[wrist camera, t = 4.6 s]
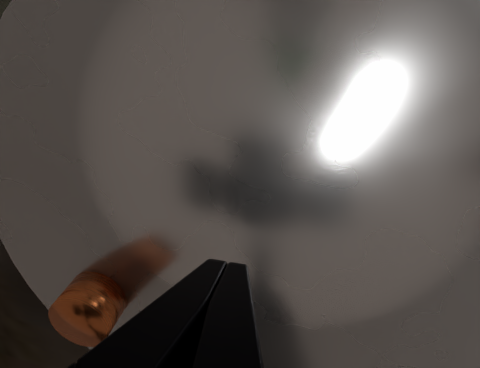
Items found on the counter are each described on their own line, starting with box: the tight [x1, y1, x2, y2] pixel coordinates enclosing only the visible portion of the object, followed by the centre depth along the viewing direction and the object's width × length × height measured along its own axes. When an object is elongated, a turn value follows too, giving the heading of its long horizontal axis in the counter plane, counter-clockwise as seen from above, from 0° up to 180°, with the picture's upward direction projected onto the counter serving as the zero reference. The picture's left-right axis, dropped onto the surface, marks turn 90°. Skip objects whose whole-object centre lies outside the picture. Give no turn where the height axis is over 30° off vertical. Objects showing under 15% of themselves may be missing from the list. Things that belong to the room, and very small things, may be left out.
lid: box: [0, 0, 480, 368], centre depth 9 cm, size 21×15×2 cm
